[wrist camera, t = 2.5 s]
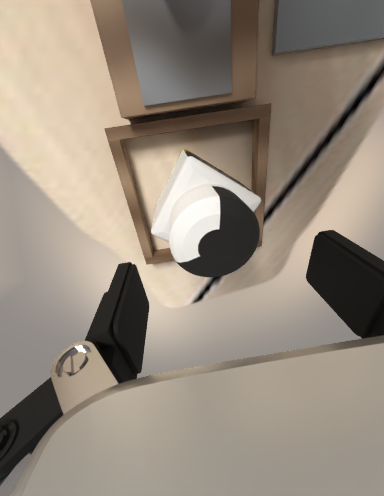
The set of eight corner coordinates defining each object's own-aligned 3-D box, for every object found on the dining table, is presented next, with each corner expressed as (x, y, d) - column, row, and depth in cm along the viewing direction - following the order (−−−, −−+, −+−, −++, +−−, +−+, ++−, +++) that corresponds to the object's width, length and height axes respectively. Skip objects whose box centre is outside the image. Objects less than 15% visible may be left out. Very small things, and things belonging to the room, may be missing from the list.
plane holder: (54, -54, 13) (-21, -172, 8) (274, -84, 13) (338, -219, 8) (147, 258, 26) (142, 288, 21) (257, 240, 27) (277, 266, 21)
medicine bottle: (238, 181, 22) (296, 224, 12) (206, 231, 25) (231, 301, 15) (183, 147, 20) (196, 164, 10) (154, 207, 23) (142, 269, 13)
